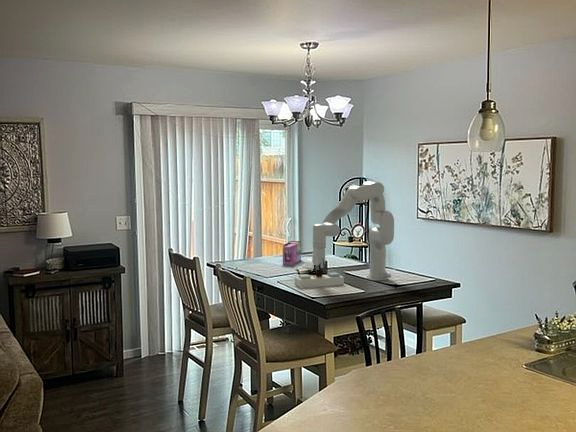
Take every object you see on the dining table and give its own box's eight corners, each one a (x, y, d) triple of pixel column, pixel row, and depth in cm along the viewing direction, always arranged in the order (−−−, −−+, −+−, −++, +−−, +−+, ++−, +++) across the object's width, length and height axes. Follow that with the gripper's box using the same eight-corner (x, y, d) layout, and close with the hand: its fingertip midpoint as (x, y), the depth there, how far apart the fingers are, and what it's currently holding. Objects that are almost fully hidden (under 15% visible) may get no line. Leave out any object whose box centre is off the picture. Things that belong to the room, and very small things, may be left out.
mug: (313, 269, 373) (313, 257, 372) (323, 272, 365) (323, 260, 364) (299, 271, 367) (299, 259, 366) (308, 274, 358) (308, 262, 357)
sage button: (307, 279, 329) (307, 274, 329) (310, 281, 324) (310, 276, 324) (298, 279, 328) (298, 274, 327) (301, 281, 323) (301, 276, 322)
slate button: (336, 277, 334) (336, 272, 334) (339, 279, 329) (339, 274, 329) (327, 277, 333) (327, 272, 333) (331, 279, 328) (331, 274, 327)
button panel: (337, 281, 337) (337, 274, 337) (343, 284, 328) (343, 277, 328) (294, 284, 329) (294, 276, 329) (299, 287, 321) (299, 280, 320)
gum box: (293, 265, 388) (293, 246, 387) (281, 265, 390) (281, 245, 389) (301, 259, 411) (301, 241, 410) (290, 259, 413) (290, 240, 412)
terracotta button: (322, 280, 332) (322, 275, 332) (325, 282, 327) (325, 277, 327) (313, 280, 330) (313, 275, 330) (316, 282, 325) (316, 277, 325)
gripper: (308, 243, 332) (308, 274, 334) (317, 247, 318) (317, 279, 320) (320, 243, 335) (320, 273, 336) (330, 247, 320) (329, 278, 322)
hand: (319, 276), depth 328 cm, fingers closed
